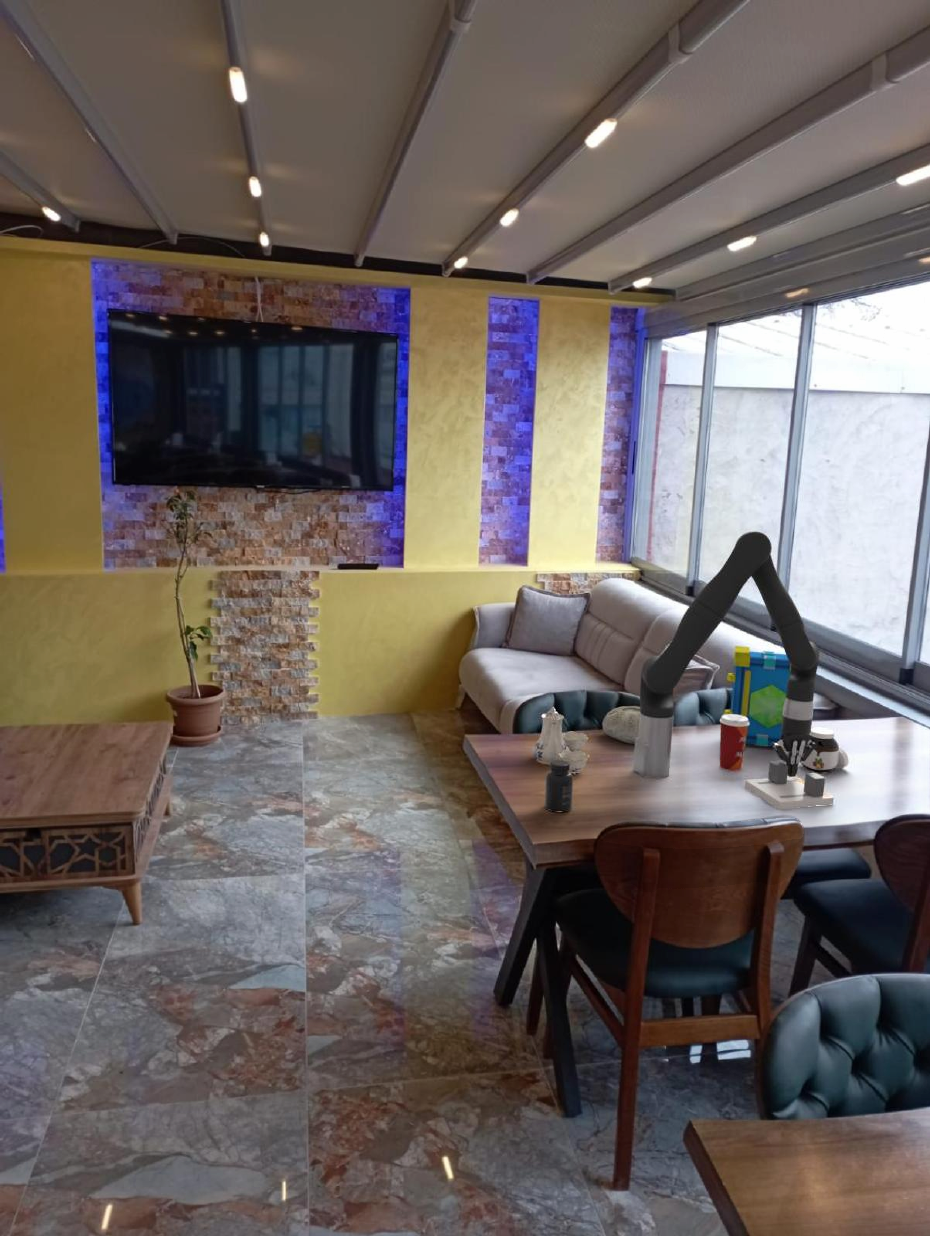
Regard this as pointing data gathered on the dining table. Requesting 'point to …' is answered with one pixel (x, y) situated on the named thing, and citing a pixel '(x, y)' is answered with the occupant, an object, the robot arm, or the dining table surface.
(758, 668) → the blue yellow rectangular box
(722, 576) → the robot arm
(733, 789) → the dining table surface
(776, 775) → the block
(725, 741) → the coffee cup
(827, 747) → the spread jar
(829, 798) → the panel
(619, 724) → the decorative shell
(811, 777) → the breaker
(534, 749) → the chinaware
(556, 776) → the supplement bottle
